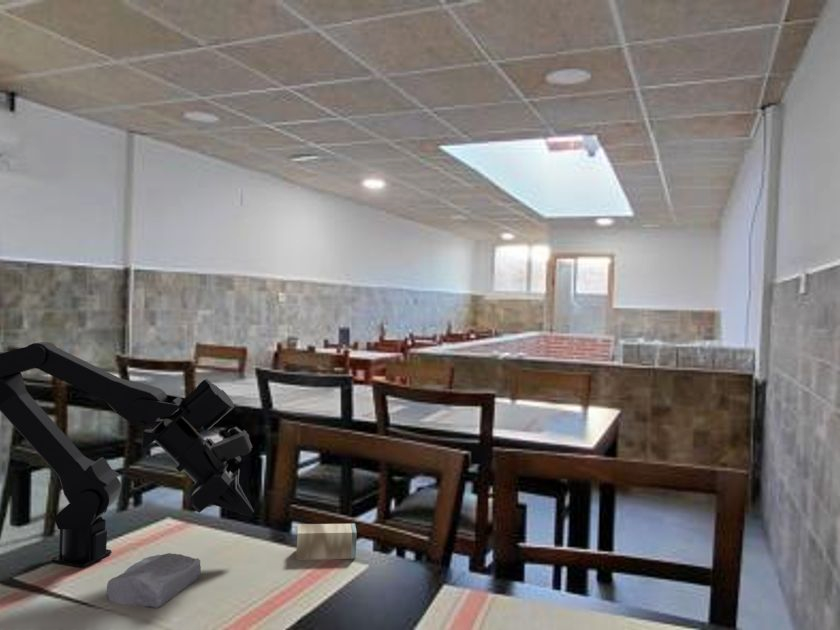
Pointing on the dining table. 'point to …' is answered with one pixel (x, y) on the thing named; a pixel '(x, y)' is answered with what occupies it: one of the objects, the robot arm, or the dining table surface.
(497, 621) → the dining table surface
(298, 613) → the dining table surface
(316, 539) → the beech block
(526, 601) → the dining table surface
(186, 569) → the stone block
